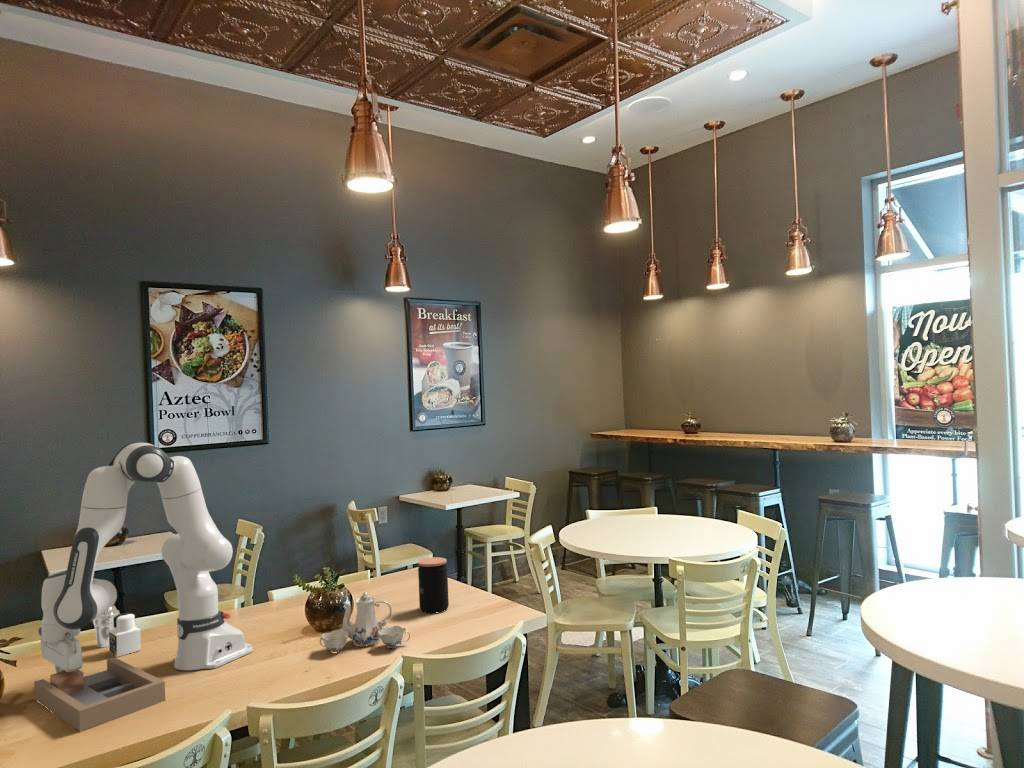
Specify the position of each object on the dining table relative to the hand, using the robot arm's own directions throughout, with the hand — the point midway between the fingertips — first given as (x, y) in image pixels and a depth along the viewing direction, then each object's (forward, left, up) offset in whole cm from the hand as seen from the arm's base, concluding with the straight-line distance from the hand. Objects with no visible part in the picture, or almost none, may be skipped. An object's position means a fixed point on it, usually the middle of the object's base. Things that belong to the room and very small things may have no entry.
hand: (62, 680), depth 184 cm
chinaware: (-69, +46, -4) cm, 83 cm away
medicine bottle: (-24, -19, -4) cm, 30 cm away
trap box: (-4, +14, -3) cm, 15 cm away
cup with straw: (-23, -32, -4) cm, 39 cm away
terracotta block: (+1, +5, -1) cm, 5 cm away
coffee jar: (-107, +39, -4) cm, 114 cm away
